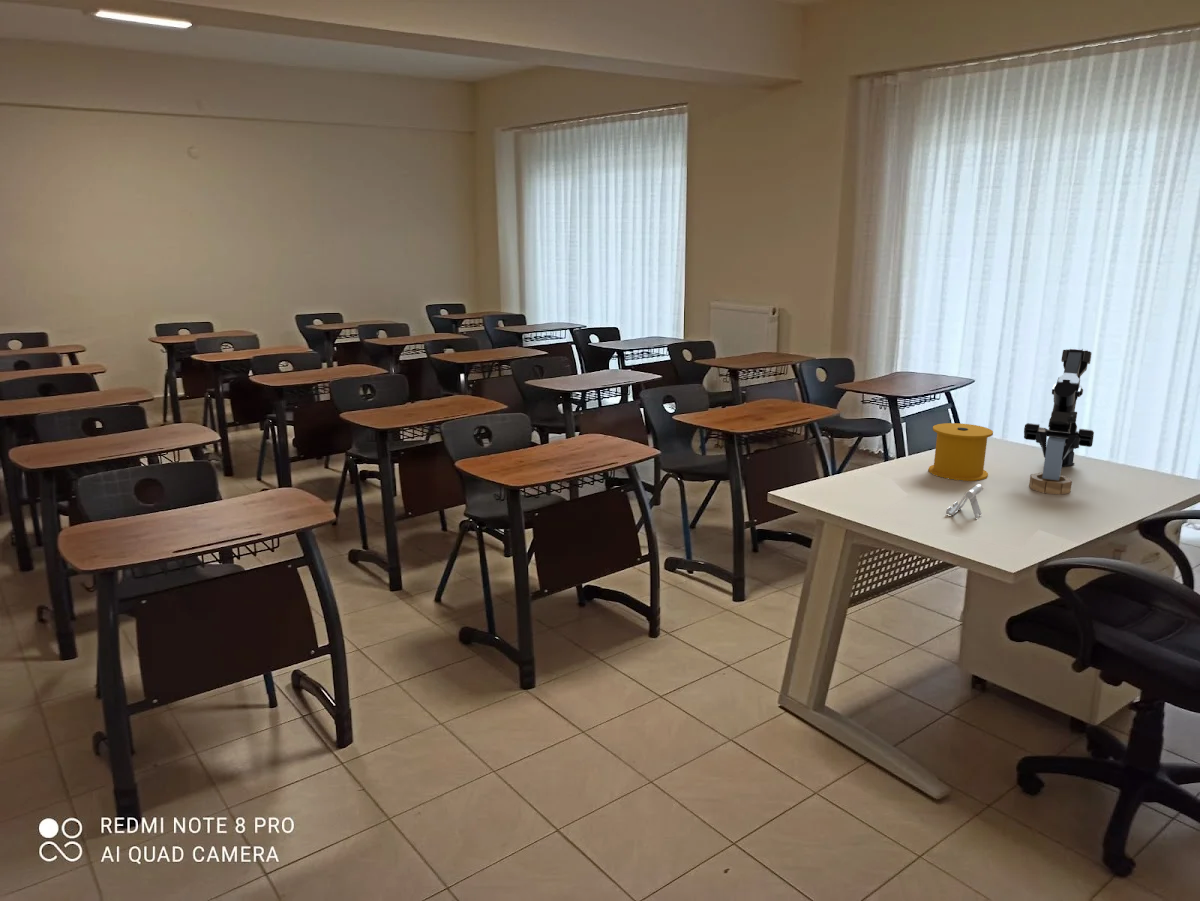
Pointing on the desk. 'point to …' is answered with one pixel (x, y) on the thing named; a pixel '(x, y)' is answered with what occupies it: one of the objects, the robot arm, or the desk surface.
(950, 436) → the spool
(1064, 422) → the robot arm
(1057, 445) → the light blue block
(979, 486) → the portable electronic device stand
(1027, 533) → the desk surface
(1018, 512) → the desk surface
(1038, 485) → the octagonal cardboard ring
